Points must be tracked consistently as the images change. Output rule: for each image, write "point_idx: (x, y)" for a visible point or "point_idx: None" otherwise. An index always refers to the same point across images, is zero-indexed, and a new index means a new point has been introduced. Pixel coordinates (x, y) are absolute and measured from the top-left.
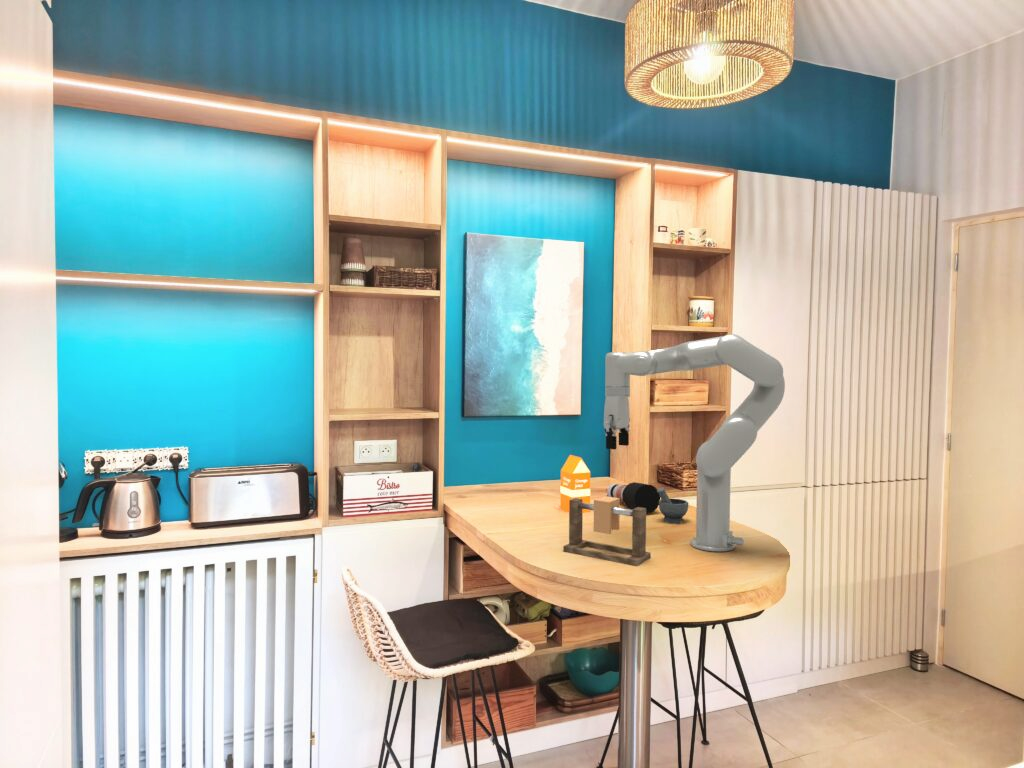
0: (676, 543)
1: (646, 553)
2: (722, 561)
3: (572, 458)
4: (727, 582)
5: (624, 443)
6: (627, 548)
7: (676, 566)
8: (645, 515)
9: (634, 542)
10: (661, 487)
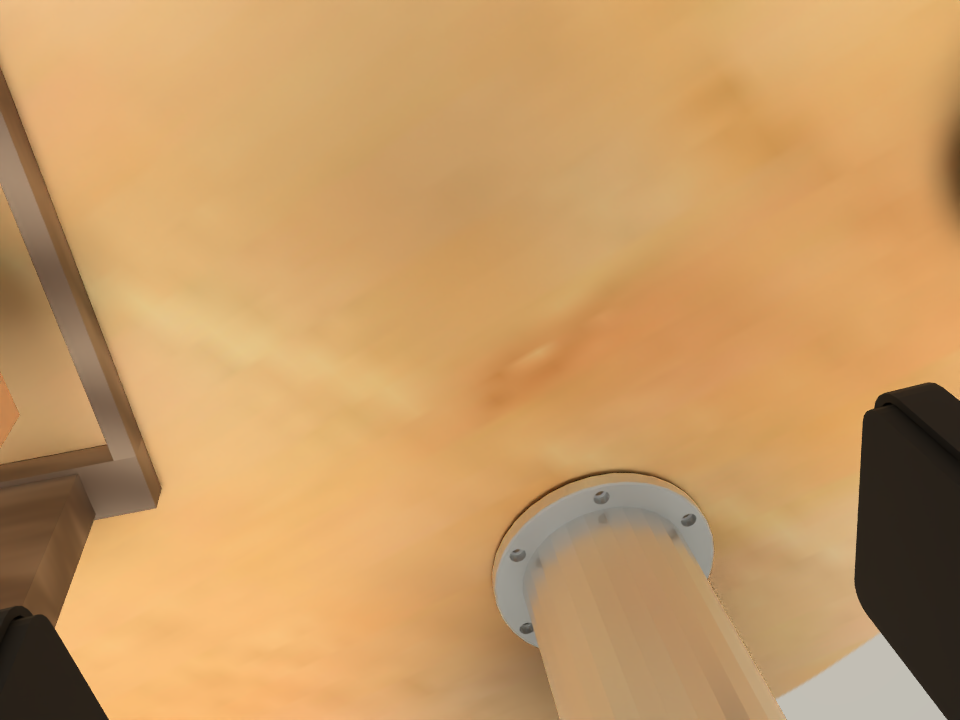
0: (523, 429)
1: (117, 506)
2: (395, 692)
3: None
4: None
5: (880, 569)
6: (101, 384)
7: (153, 628)
8: None
9: None
10: None
